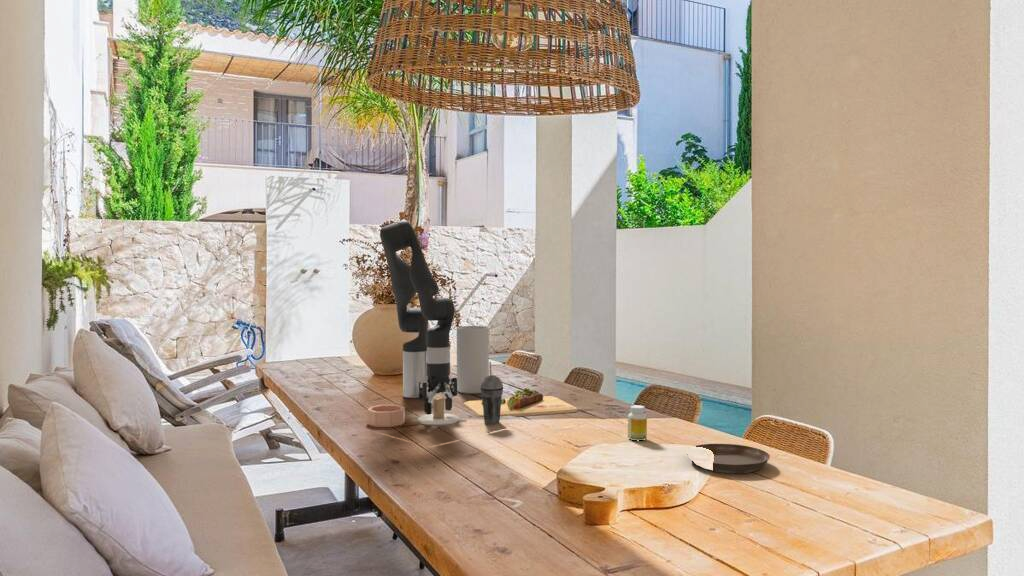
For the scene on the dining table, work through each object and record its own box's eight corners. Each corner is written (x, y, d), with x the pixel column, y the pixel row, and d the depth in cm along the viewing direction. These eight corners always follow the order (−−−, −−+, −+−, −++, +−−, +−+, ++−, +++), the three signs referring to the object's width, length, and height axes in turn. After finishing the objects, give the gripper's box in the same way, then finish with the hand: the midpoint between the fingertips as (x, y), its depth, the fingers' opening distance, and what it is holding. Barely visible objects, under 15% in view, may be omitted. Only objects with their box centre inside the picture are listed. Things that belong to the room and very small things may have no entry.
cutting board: (480, 421, 239) (480, 398, 239) (462, 406, 261) (462, 385, 261) (579, 414, 250) (579, 392, 250) (554, 400, 272) (554, 380, 272)
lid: (441, 414, 243) (441, 393, 243) (467, 420, 234) (467, 398, 234) (409, 420, 234) (409, 399, 233) (435, 427, 225) (435, 404, 224)
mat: (441, 416, 243) (441, 414, 243) (467, 422, 234) (467, 420, 234) (409, 422, 234) (409, 420, 234) (436, 429, 225) (435, 427, 225)
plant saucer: (668, 461, 192) (668, 448, 192) (726, 450, 202) (726, 438, 202) (727, 482, 174) (727, 468, 174) (787, 469, 184) (787, 456, 184)
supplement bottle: (624, 438, 214) (624, 405, 214) (639, 436, 217) (639, 403, 216) (635, 442, 210) (635, 409, 209) (650, 440, 212) (650, 407, 212)
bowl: (390, 418, 239) (390, 403, 239) (411, 424, 232) (411, 408, 231) (361, 424, 231) (361, 408, 231) (382, 430, 224) (382, 413, 223)
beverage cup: (507, 423, 233) (507, 360, 232) (497, 428, 226) (497, 363, 225) (486, 421, 236) (486, 359, 235) (476, 426, 229) (476, 362, 228)
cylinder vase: (488, 394, 281) (488, 329, 280) (455, 394, 281) (455, 329, 280) (489, 388, 294) (489, 325, 293) (458, 388, 294) (458, 325, 293)
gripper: (447, 357, 241) (447, 407, 241) (412, 362, 230) (413, 413, 231) (463, 359, 235) (463, 410, 236) (428, 364, 225) (428, 417, 226)
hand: (438, 412), depth 234 cm, fingers open, 7 cm apart
